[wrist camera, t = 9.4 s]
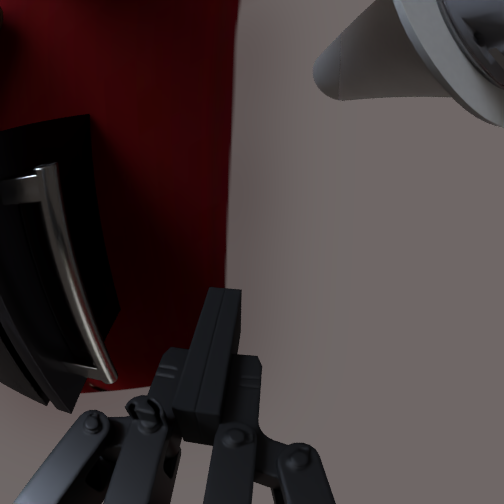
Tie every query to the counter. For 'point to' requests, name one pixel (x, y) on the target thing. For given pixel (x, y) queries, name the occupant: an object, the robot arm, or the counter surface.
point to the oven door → (54, 258)
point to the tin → (1, 17)
